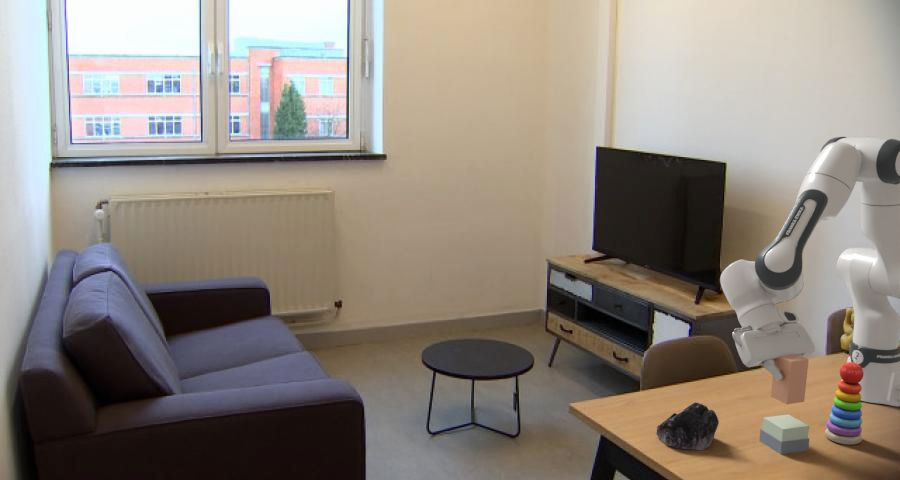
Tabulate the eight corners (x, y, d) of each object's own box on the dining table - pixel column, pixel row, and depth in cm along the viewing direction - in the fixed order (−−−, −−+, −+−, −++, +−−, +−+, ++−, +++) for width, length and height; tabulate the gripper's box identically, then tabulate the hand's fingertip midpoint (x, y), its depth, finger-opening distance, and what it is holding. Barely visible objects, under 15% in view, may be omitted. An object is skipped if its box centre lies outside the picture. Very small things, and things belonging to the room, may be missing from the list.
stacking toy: (859, 449, 200) (868, 371, 196) (821, 441, 204) (829, 364, 200) (863, 437, 206) (872, 361, 203) (827, 429, 210) (835, 355, 207)
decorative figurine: (874, 352, 271) (879, 305, 268) (873, 360, 263) (878, 311, 261) (840, 347, 275) (845, 301, 272) (838, 354, 268) (843, 307, 265)
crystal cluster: (644, 437, 206) (646, 399, 203) (686, 422, 212) (688, 385, 209) (685, 463, 195) (688, 424, 192) (728, 446, 201) (731, 408, 198)
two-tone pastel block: (786, 438, 206) (788, 413, 204) (808, 451, 199) (810, 426, 197) (759, 441, 203) (761, 417, 202) (780, 454, 196) (782, 429, 195)
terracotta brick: (787, 394, 202) (792, 352, 200) (804, 401, 197) (808, 359, 196) (771, 396, 200) (775, 354, 198) (786, 404, 196) (791, 361, 194)
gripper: (737, 322, 197) (767, 377, 190) (801, 313, 206) (832, 365, 199) (721, 336, 202) (749, 390, 195) (785, 326, 211) (814, 377, 204)
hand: (792, 377), depth 197 cm, fingers closed on terracotta brick, 5 cm apart
